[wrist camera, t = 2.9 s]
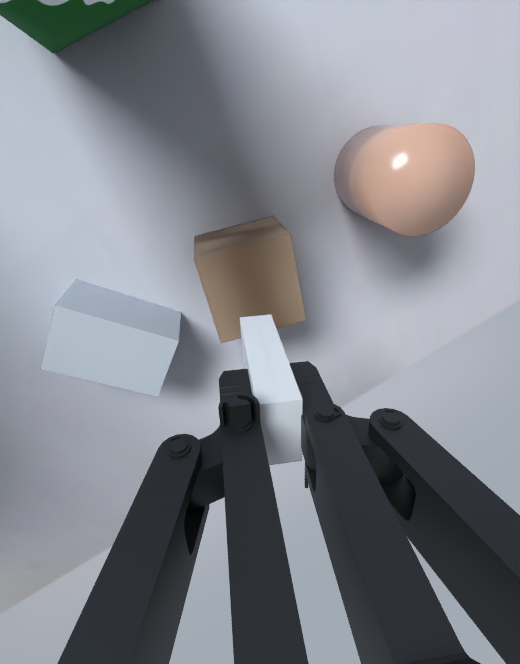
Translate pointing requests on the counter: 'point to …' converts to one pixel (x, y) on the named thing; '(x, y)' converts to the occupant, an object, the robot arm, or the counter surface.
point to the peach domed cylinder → (406, 176)
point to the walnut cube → (249, 275)
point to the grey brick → (111, 338)
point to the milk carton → (64, 18)
